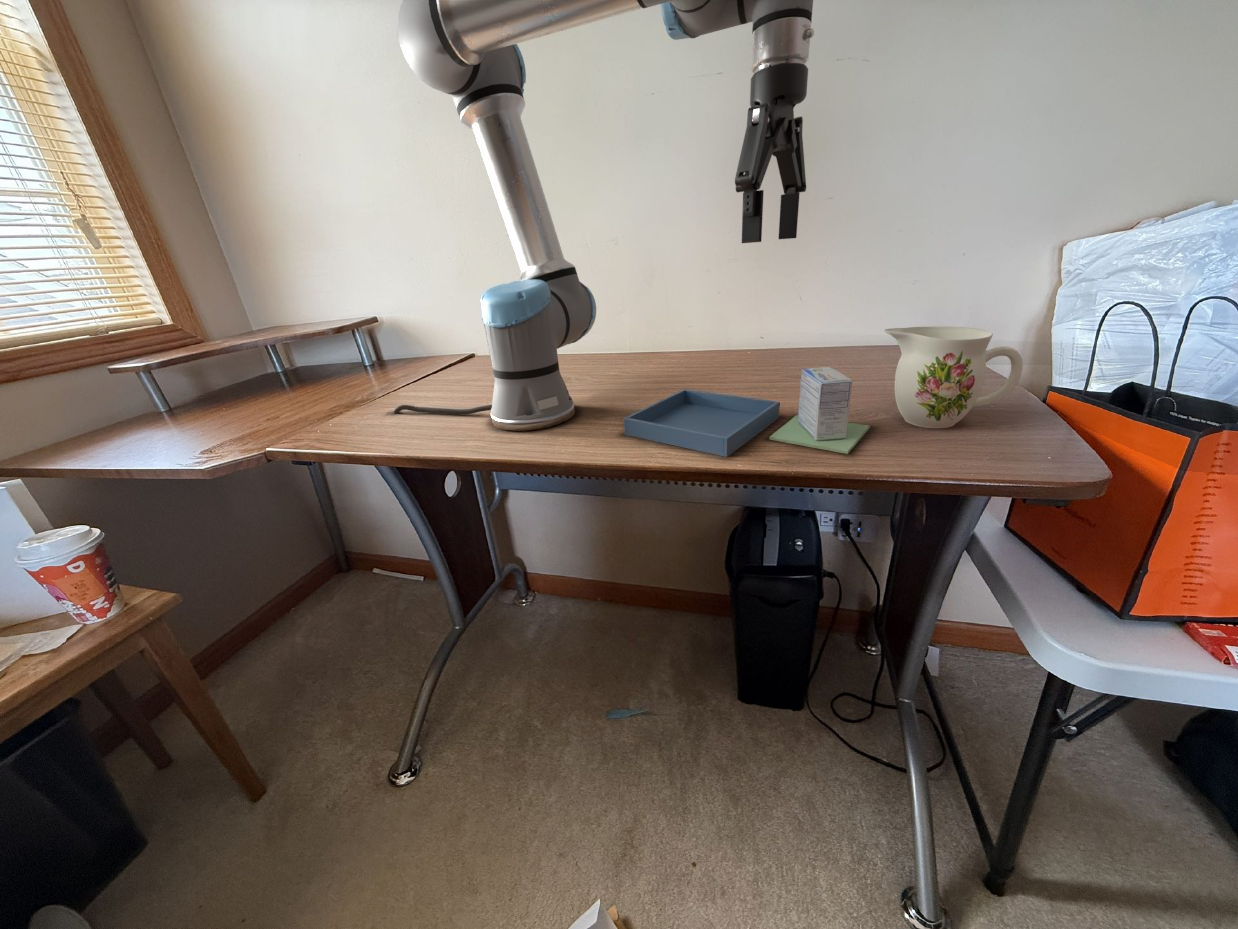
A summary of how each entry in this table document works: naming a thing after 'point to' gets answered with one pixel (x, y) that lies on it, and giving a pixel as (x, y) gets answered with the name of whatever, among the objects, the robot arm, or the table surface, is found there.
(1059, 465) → the table surface
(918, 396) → the pitcher
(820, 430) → the medicine box
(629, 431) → the tray
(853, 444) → the mat
